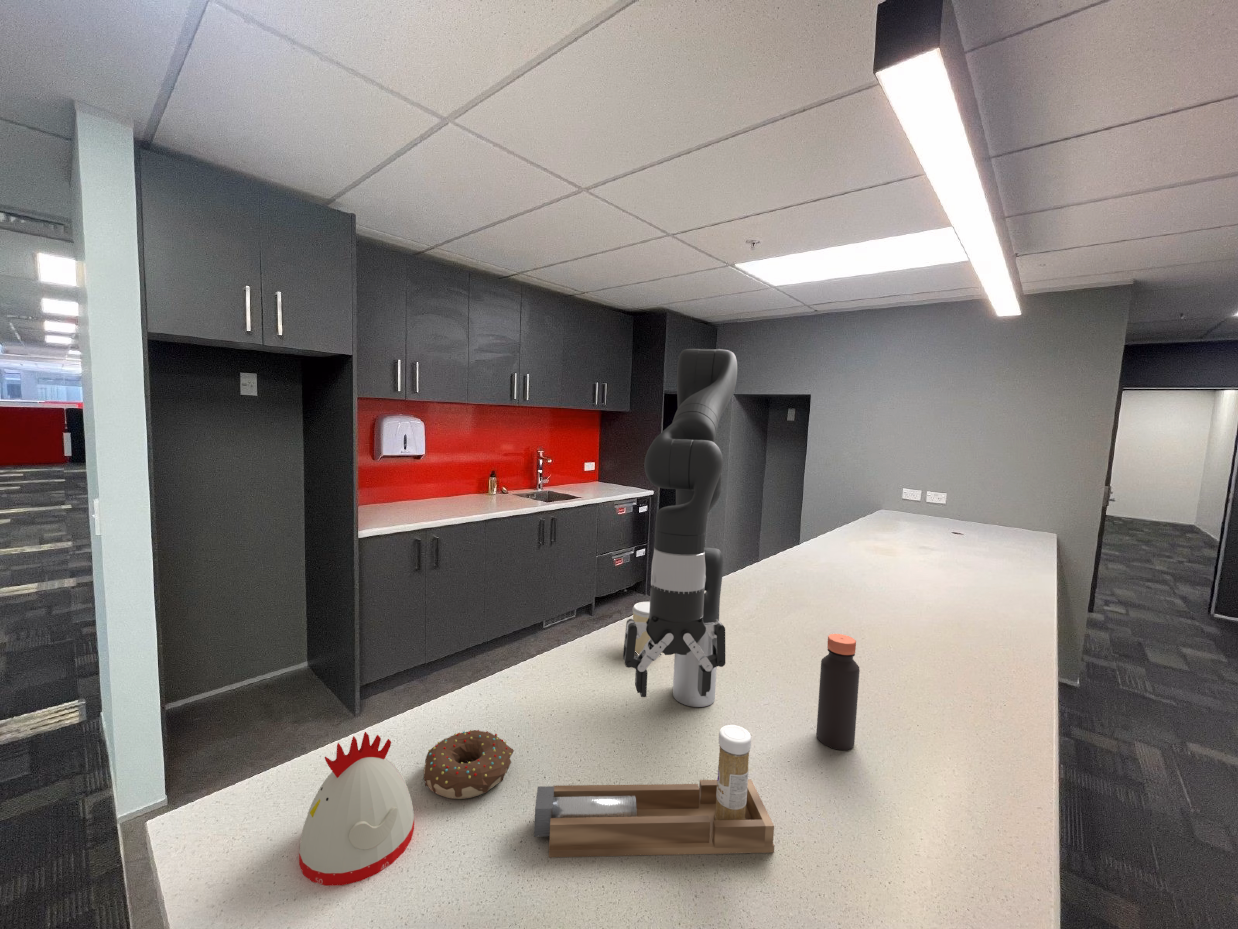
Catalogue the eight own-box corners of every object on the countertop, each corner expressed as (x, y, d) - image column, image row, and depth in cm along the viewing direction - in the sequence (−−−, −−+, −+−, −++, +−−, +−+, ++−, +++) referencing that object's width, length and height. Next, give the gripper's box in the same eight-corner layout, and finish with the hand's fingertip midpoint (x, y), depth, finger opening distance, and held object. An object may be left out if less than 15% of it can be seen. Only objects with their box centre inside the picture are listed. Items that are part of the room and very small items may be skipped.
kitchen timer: (288, 837, 69) (288, 732, 68) (391, 790, 79) (393, 697, 78) (316, 908, 59) (316, 785, 58) (430, 844, 69) (432, 738, 68)
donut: (419, 815, 74) (420, 782, 74) (426, 757, 87) (426, 729, 87) (517, 798, 78) (518, 767, 78) (510, 745, 91) (511, 718, 91)
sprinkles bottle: (710, 810, 76) (715, 723, 75) (739, 808, 76) (744, 723, 76) (719, 834, 71) (725, 742, 71) (750, 832, 72) (756, 741, 71)
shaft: (536, 812, 74) (537, 786, 74) (633, 811, 75) (634, 785, 75) (534, 836, 70) (534, 809, 69) (636, 834, 71) (637, 807, 70)
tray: (552, 806, 77) (553, 781, 76) (751, 804, 79) (753, 779, 79) (548, 858, 67) (549, 830, 67) (774, 853, 70) (776, 826, 69)
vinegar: (808, 733, 99) (814, 633, 98) (835, 727, 101) (842, 630, 100) (834, 754, 92) (841, 647, 91) (862, 747, 95) (870, 643, 94)
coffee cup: (672, 656, 131) (674, 611, 130) (639, 661, 127) (641, 614, 127) (656, 642, 139) (658, 599, 139) (625, 646, 136) (627, 602, 135)
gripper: (719, 575, 75) (713, 681, 76) (624, 573, 74) (619, 681, 74) (735, 590, 68) (729, 707, 68) (630, 588, 66) (625, 709, 67)
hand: (672, 694), depth 71 cm, fingers open, 8 cm apart
